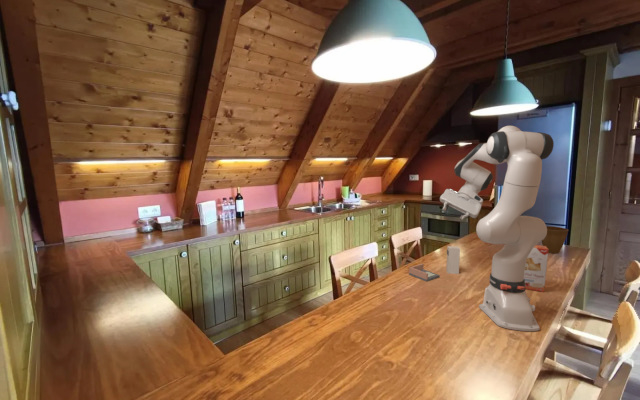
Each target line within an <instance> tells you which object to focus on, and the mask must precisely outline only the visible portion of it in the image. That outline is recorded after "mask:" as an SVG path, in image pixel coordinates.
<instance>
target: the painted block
mask: <svg viewBox="0 0 640 400" xmlns="http://www.w3.org/2000/svg"><path fill="white" fill-rule="evenodd" d="M460 255H461V248H460V247H459V246H456V245H455V246H452V245H447V248H446V265H445V266H446V269H445V270H446V273H447V274H450V273H451V274H453V275H459V274H460V260H461V259H460V258H461V256H460Z"/></svg>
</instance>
